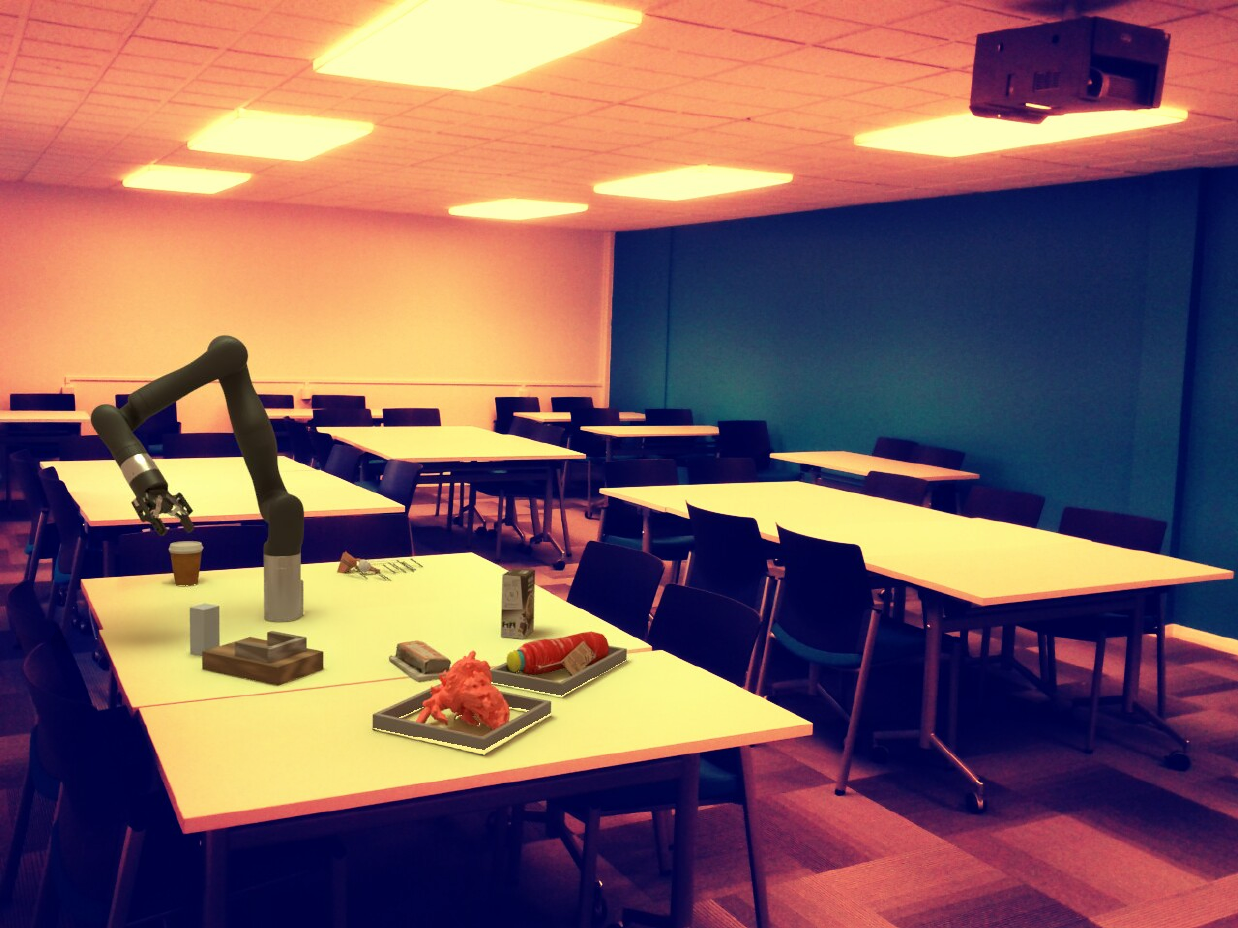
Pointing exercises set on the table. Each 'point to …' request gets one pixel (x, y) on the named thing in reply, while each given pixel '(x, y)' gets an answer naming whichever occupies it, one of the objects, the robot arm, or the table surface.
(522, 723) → the heart corral
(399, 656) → the packaged product
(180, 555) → the disposable coffee cup
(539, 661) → the water bottle
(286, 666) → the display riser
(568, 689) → the bottle corral
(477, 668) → the heart model
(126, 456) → the robot arm
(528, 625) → the coffee box
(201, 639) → the slate post
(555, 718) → the table surface
